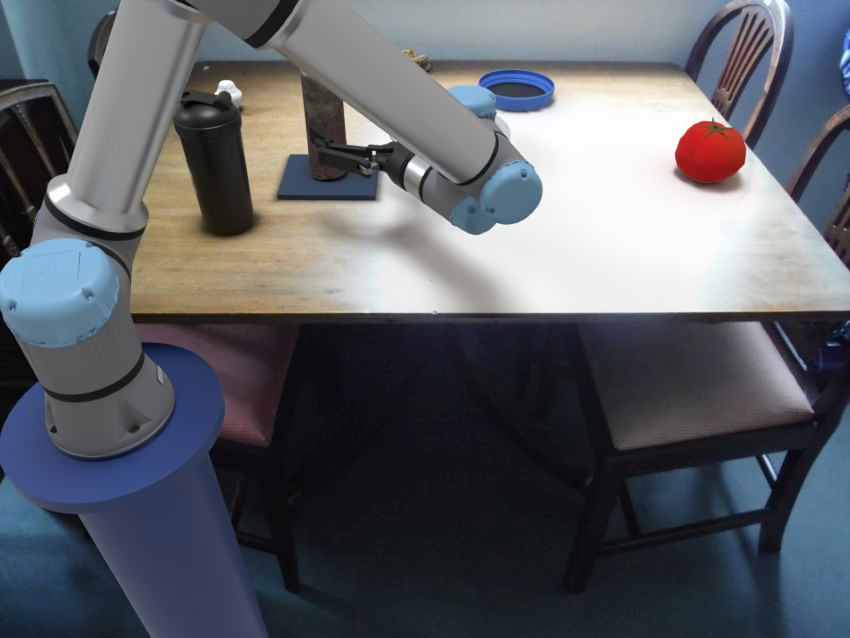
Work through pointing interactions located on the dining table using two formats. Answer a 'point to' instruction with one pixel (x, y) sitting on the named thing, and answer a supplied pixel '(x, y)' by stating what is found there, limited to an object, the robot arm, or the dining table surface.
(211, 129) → the water bottle
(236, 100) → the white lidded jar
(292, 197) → the mat
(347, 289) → the dining table surface
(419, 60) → the cake
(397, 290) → the dining table surface
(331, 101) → the candle
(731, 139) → the tomato
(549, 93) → the bowl
